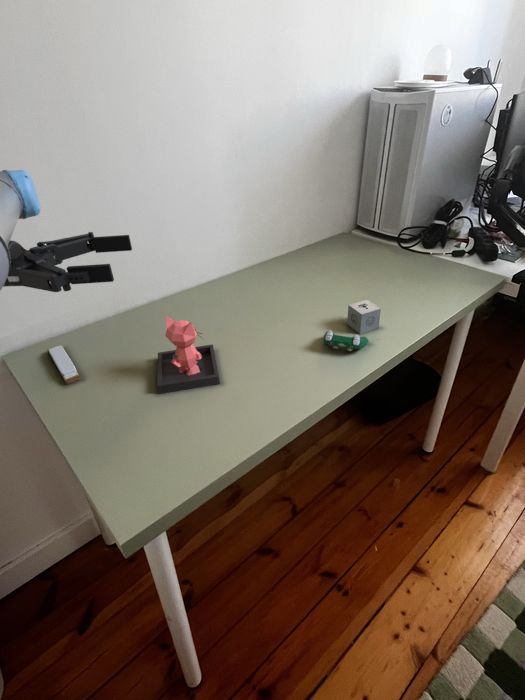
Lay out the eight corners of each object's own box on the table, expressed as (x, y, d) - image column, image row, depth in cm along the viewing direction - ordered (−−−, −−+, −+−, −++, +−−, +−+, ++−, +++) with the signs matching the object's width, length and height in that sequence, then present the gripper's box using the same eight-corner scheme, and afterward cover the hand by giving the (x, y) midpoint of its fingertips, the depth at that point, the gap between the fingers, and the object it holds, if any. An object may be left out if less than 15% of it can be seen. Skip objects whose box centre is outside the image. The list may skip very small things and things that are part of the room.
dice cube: (365, 318, 101) (366, 299, 98) (378, 328, 97) (380, 308, 95) (347, 324, 100) (348, 304, 97) (360, 334, 96) (361, 314, 93)
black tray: (159, 393, 82) (157, 386, 81) (159, 359, 91) (157, 352, 90) (220, 384, 83) (219, 376, 82) (213, 351, 93) (212, 344, 92)
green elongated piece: (323, 348, 95) (318, 342, 89) (327, 332, 95) (322, 325, 90) (365, 356, 92) (363, 350, 86) (369, 338, 92) (367, 331, 87)
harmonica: (48, 354, 95) (45, 346, 94) (62, 349, 97) (59, 341, 96) (65, 386, 85) (62, 377, 84) (81, 379, 87) (78, 371, 86)
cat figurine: (212, 366, 88) (204, 314, 81) (191, 384, 83) (181, 331, 76) (185, 357, 91) (175, 306, 84) (163, 374, 86) (151, 322, 80)
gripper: (33, 257, 86) (140, 251, 86) (-34, 320, 65) (108, 311, 65) (19, 220, 82) (132, 213, 82) (-57, 273, 61) (94, 264, 61)
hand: (121, 256), depth 73 cm, fingers open, 13 cm apart
